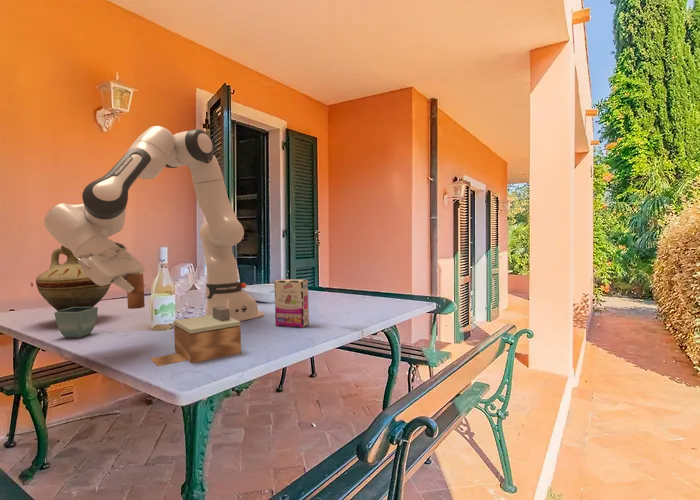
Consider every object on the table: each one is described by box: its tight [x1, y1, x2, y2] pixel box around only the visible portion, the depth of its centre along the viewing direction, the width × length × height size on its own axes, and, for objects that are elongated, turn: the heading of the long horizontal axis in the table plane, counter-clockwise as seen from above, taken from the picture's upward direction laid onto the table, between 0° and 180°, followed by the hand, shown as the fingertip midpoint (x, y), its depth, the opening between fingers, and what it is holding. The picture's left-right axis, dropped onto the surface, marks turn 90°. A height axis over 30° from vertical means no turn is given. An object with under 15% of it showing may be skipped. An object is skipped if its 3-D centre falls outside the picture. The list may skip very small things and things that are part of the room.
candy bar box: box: [273, 278, 310, 329], centre depth 140 cm, size 11×5×16 cm, turn 71°
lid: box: [173, 306, 241, 334], centre depth 107 cm, size 13×14×4 cm
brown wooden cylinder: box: [126, 273, 146, 310], centre depth 106 cm, size 4×4×9 cm
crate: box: [149, 324, 242, 367], centre depth 105 cm, size 20×14×8 cm
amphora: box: [35, 245, 112, 312], centre depth 150 cm, size 24×24×30 cm
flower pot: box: [54, 306, 99, 339], centre depth 130 cm, size 9×9×9 cm
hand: (137, 289), depth 106 cm, fingers closed on brown wooden cylinder, 4 cm apart
